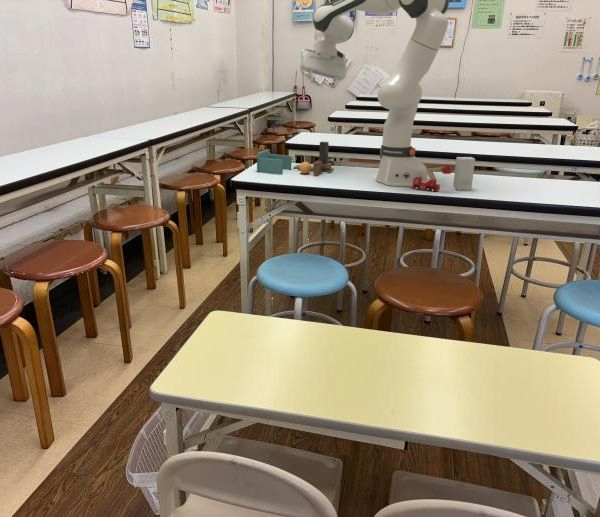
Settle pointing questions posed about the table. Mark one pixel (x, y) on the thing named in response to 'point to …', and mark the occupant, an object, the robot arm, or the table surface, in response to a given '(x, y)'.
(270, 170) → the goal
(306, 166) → the ball
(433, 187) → the toy fire truck
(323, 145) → the slide kicker
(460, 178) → the skincare box
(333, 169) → the kicker rail
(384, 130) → the robot arm
